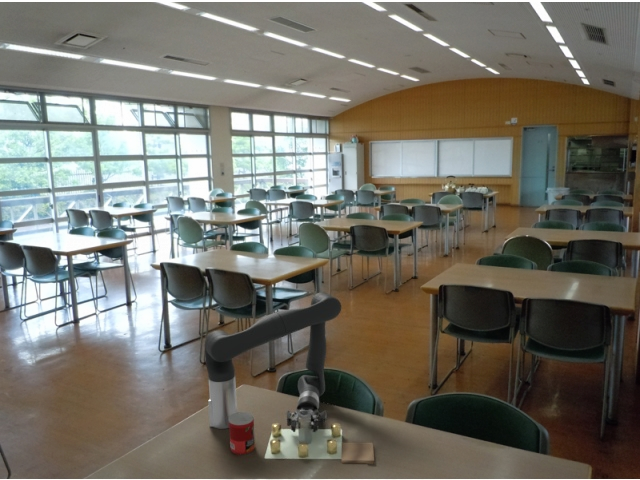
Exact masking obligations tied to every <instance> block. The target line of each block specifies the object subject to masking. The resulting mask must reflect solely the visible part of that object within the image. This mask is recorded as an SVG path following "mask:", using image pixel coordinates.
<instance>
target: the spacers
mask: <svg viewBox="0 0 640 480" xmlns="http://www.w3.org/2000/svg"><path fill="white" fill-rule="evenodd" d="M341 427H342V426H341V424H340V423H335V422H334V423H332V424H330V429H331V436H332V437H333V438H338V437H340V436H341V429H342V428H341ZM281 429H282V424H281V423H280V422H279V423H278V422H275V423H271V433H272V436H273V437H275V438H277V437H280V436H281V435H282V434H281ZM270 449H271V453H272V454H279V453H280V452H281V447H280V440H279V439H272V440H271V441H270ZM327 453H328V454H331V455H333V454H336V453H337V440H335V439H329V440H327ZM298 456H299V457H300V458H306V457H308V443H306V442H300V443H299V444H298Z"/></svg>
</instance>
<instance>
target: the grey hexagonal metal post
mask: <svg viewBox="0 0 640 480" xmlns="http://www.w3.org/2000/svg"><path fill="white" fill-rule="evenodd" d="M297 426H298V428H297V429H298V430H299V443H300V442H306V443H308V444H311V441H312V435H311V429H312V424H311V411H308V410H302V411H299V412H298V425H297Z"/></svg>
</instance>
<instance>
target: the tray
mask: <svg viewBox="0 0 640 480" xmlns="http://www.w3.org/2000/svg"><path fill="white" fill-rule="evenodd" d="M374 453H375V451H374V444H373V442H342V451H341V459H340V461H341V464H367V465H375V455H374Z"/></svg>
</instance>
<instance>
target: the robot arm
mask: <svg viewBox="0 0 640 480" xmlns="http://www.w3.org/2000/svg"><path fill="white" fill-rule="evenodd" d="M341 311H342V304H341V302H340V300H339V299H338V298H337V297H335V296H333V295H331V294H329V293H327V292H323V291H322V292H321V291H320V292H317V293H316V294H314V295H313V296H312V299H311V303H310V305H309V306H307V307H301V308H294V309H293V308H292V309H290V308H289V309H283V310H279V311H276V312H273V313H270V314H268V315H265V316H263V317H261V318H260V319H259V320H257V321H256V322H254V324H252V325H251V326H250V327H248V328H246V329H245V330H242V331H239V332H236V333H232V334H228V333H227V332H225V331H224V330H221V329H220V330H214V331H212V332H210V333H208V335H207V336H206V338H205V342H204V354H205V356H204V357H205V365H206V366H205V367H206V371H207V375H208V378H207V379H208V390H209V399H208V401H207V403H208V419H209V420H208V421H209V427H212V428H215V429H220V430H224V429H229V417H230V416H231V415H232V414H234V413H237V412H238V406H237V404H238V403H237V402H238V401H237V388H236V387H237V386H236V370H235V366H234V363H233V359H234V358H236V357H238V356H240V355H242V354H244V353H245V352H248V351H251V350H252V349H254V348H257V347H260V346H262V345H265V344H268V343H270V342H274V341H277V340H278V339H281V338H283V337H286V336H288V335H291V334H293V333H296V332H299V331H301V330H303V329H306V328H308V327H309V328H310V330H309V343H308V348H307V349H308V350H307V355H306V360H305V368H306V370H308V371H309V372H312V373H314V374H315V375H316V376H314V375H308V374H303V375H301V376H300V377H299V379H298V381H297V390H298V391H297V392H298V393H299V398H298V401H297V404H296V405H297V406H296V410H295V411H294V412H291V411H290V410H286V426H287V427H290V429H291V430H292V431H293V432H295V431H296V429H297V426H298V412H299V411H302V410H308V411H311V426H312V429H313V432H316V431H317V430H318V429H319V426H320V427H324V426H325V425H326V421H327V418H328V417H327V415H328V414H327V410H323V411H322V412H319V408H320V397H321V396H323V394H324V392H325V391H326V382H325V374H324V372H325V371H324V369H325V363H326V358H327V342H326V341H327V338H326V322H330V321H331V320H332V321H333V320H334V319H336V318H337V317H338V316H339V315H340V313H341ZM318 418H319V419H318Z"/></svg>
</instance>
